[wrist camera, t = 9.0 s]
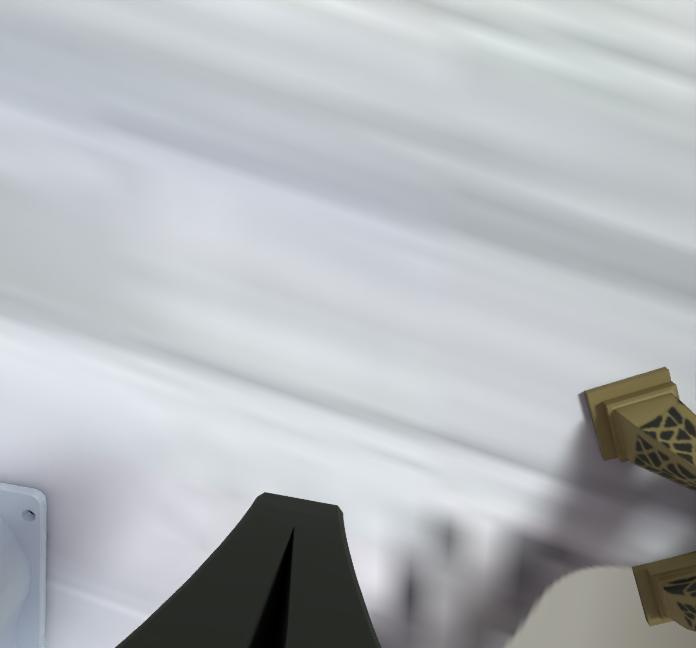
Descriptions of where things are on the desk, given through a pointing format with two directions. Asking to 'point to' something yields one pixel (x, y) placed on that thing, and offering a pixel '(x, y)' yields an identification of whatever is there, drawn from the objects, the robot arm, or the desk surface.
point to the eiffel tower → (660, 458)
